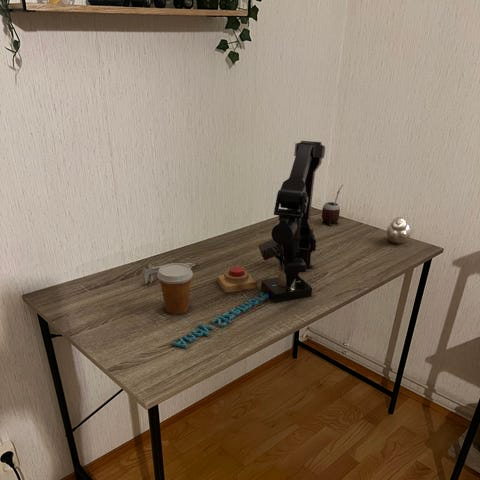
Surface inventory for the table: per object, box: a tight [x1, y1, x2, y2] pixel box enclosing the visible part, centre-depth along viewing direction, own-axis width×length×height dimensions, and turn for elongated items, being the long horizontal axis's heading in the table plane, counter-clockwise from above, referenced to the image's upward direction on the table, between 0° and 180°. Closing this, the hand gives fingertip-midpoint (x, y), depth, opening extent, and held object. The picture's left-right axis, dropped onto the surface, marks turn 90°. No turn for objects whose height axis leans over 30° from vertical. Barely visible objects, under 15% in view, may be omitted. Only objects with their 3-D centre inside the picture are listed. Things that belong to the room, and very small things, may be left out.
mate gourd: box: [321, 183, 344, 227], centre depth 198 cm, size 8×8×15 cm
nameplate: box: [170, 291, 269, 349], centre depth 133 cm, size 37×1×5 cm
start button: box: [228, 265, 245, 277], centre depth 149 cm, size 4×4×2 cm
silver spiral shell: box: [386, 216, 413, 244], centre depth 181 cm, size 9×10×10 cm
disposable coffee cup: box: [156, 262, 194, 315], centre depth 135 cm, size 10×10×12 cm
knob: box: [277, 266, 296, 288], centre depth 145 cm, size 5×5×5 cm
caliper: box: [142, 262, 197, 285], centre depth 156 cm, size 20×1×6 cm, turn 136°
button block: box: [216, 269, 257, 294], centre depth 151 cm, size 10×8×4 cm
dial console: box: [260, 274, 313, 304], centre depth 147 cm, size 12×10×3 cm
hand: (286, 282), depth 146 cm, fingers closed on knob, 5 cm apart
